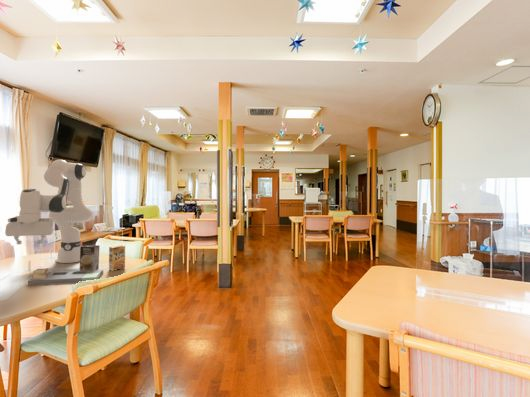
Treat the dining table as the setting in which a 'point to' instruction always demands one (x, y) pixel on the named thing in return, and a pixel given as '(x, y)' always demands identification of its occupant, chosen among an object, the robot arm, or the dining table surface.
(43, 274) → the maple block
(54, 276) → the trap board
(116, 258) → the candy box
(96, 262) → the coffee box
